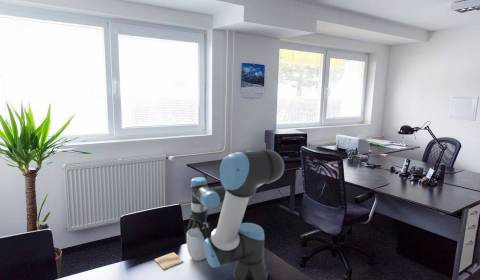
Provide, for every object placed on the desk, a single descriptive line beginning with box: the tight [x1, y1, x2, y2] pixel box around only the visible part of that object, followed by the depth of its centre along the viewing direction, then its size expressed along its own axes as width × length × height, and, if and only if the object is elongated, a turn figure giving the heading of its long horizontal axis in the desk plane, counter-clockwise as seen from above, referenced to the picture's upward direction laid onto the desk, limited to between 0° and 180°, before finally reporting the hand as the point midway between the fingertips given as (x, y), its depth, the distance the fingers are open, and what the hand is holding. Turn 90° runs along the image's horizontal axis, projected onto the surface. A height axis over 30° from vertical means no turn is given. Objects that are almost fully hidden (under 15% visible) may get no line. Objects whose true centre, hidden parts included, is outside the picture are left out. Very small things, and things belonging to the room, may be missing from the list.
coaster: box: [154, 251, 184, 271], centre depth 143 cm, size 10×10×1 cm
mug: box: [186, 228, 206, 262], centre depth 147 cm, size 15×11×13 cm
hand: (200, 250), depth 147 cm, fingers open, 13 cm apart
